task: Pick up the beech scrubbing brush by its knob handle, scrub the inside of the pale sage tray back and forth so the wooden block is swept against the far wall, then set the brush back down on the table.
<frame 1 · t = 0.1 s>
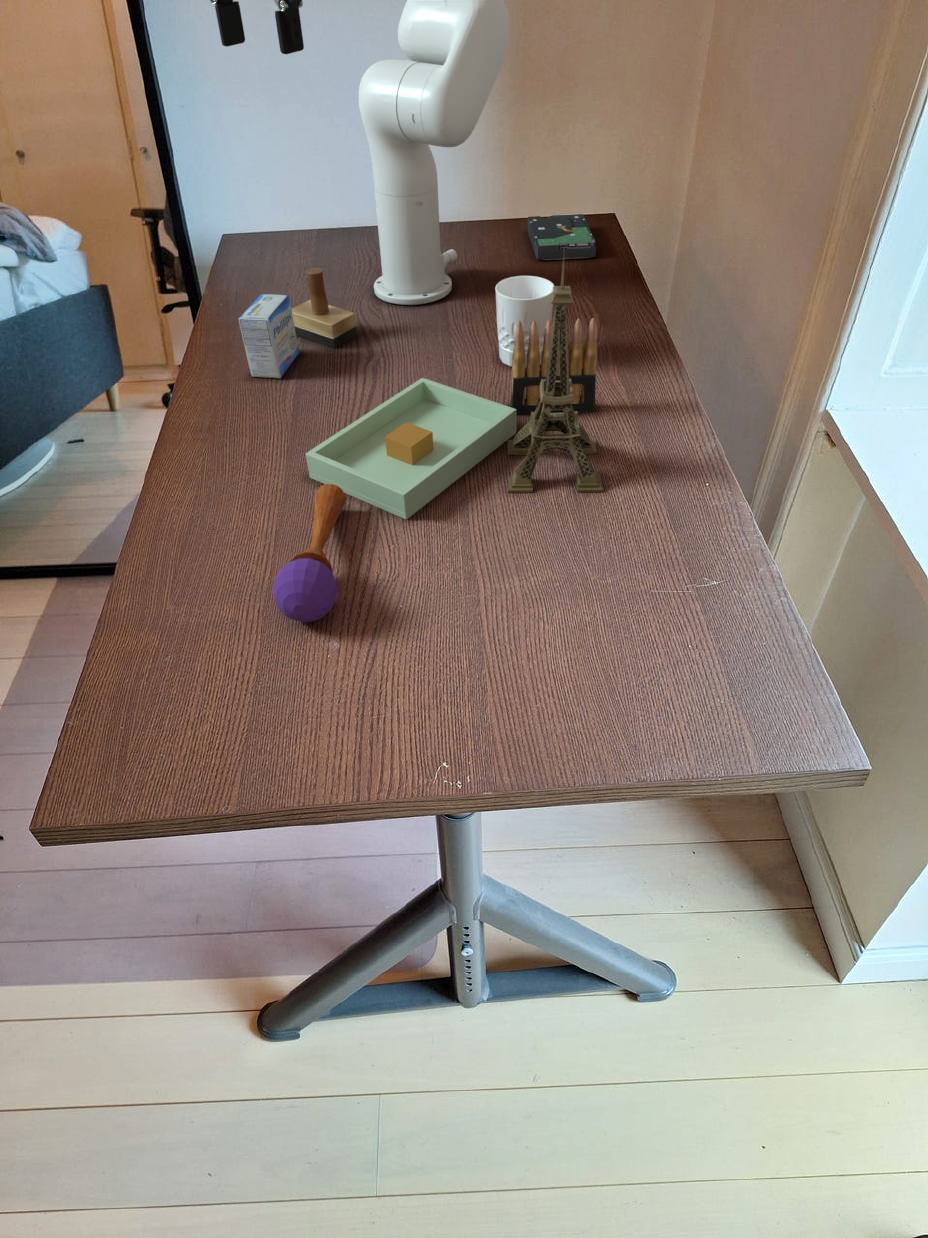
hand: (262, 47, 99), 37 cm above the table, tool pointing down, fingers open, 9 cm apart
ammunition clip: (552, 411, 109), on the table
brush: (324, 334, 127), on the table
eiffel tower: (552, 467, 100), on the table
white cup: (523, 358, 120), on the table
medicine box: (276, 366, 120), on the table
wooden block: (410, 452, 101), point 1 cm above the table, touching tray
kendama: (320, 568, 87), on the table
disk drive: (560, 245, 151), on the table
tray: (415, 454, 102), on the table
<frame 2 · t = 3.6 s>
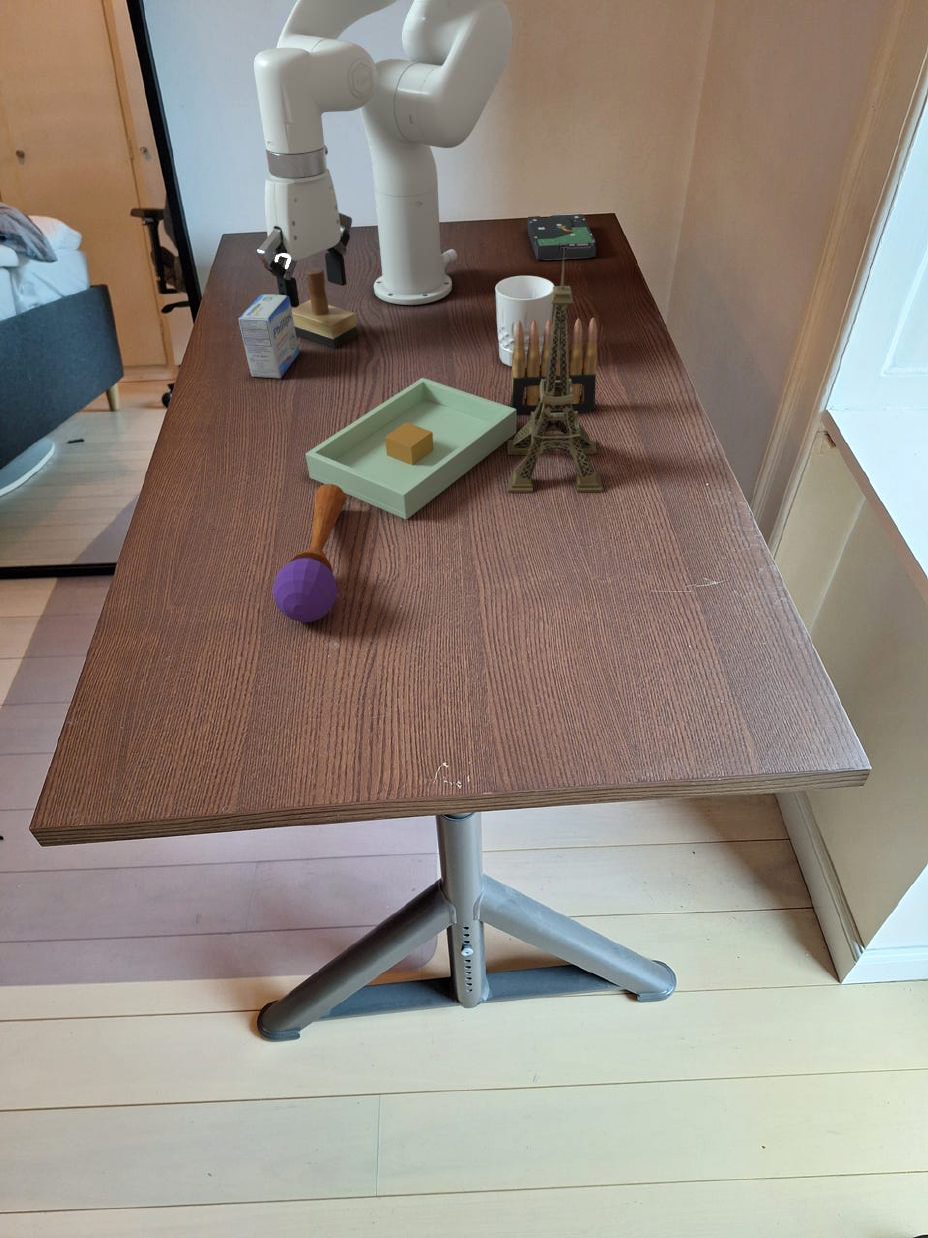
hand: (314, 293, 122), 6 cm above the table, tool pointing down, fingers open, 9 cm apart
medicine box: (276, 366, 120), on the table, touching gripper
everything else where it was.
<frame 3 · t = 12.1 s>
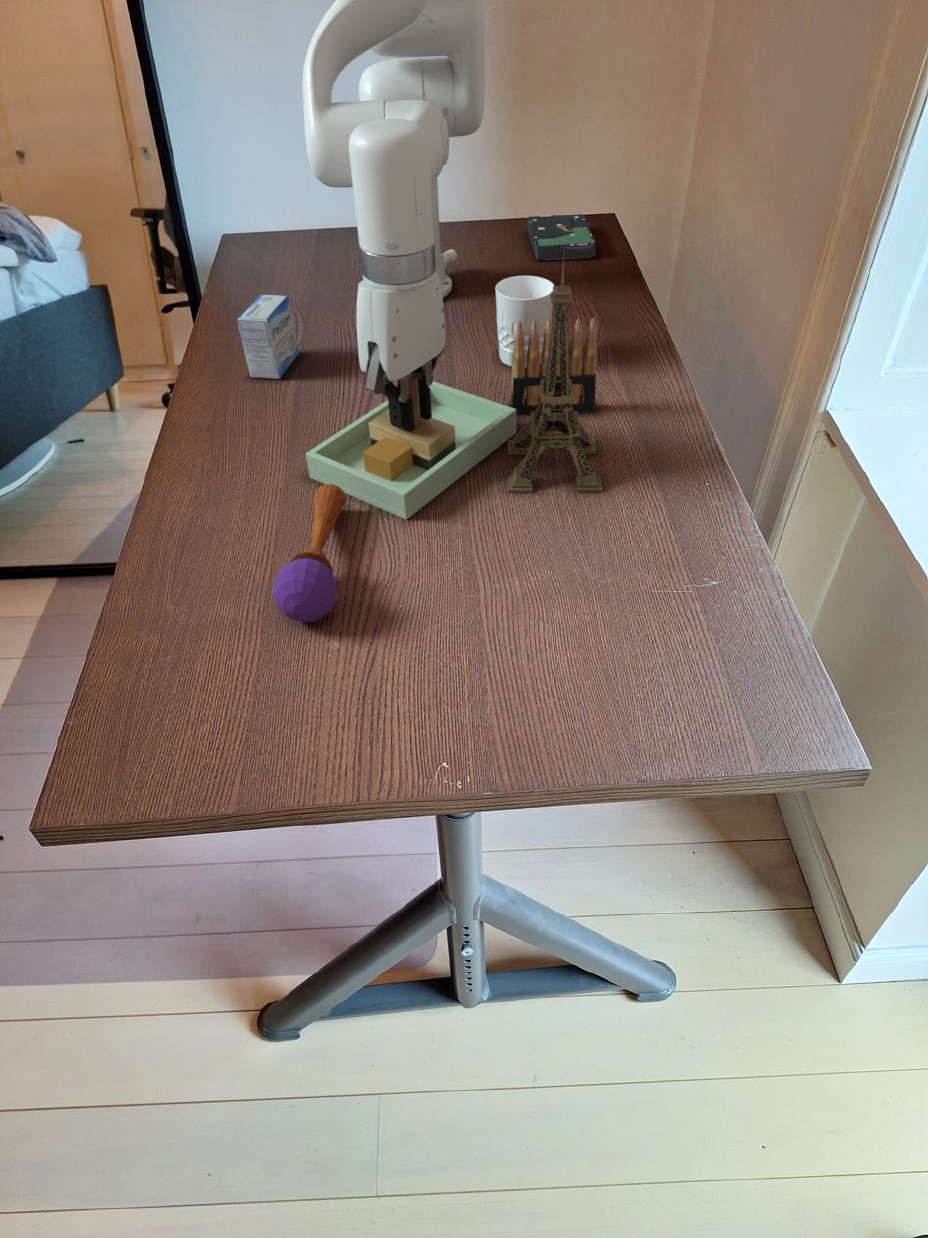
hand: (411, 420, 99), 5 cm above the table, tool pointing down, fingers closed on brush, 2 cm apart
brush: (413, 450, 101), point 1 cm above the table, touching gripper
medicine box: (275, 367, 120), on the table
wooden block: (389, 468, 99), point 1 cm above the table, touching tray
everything else where it was.
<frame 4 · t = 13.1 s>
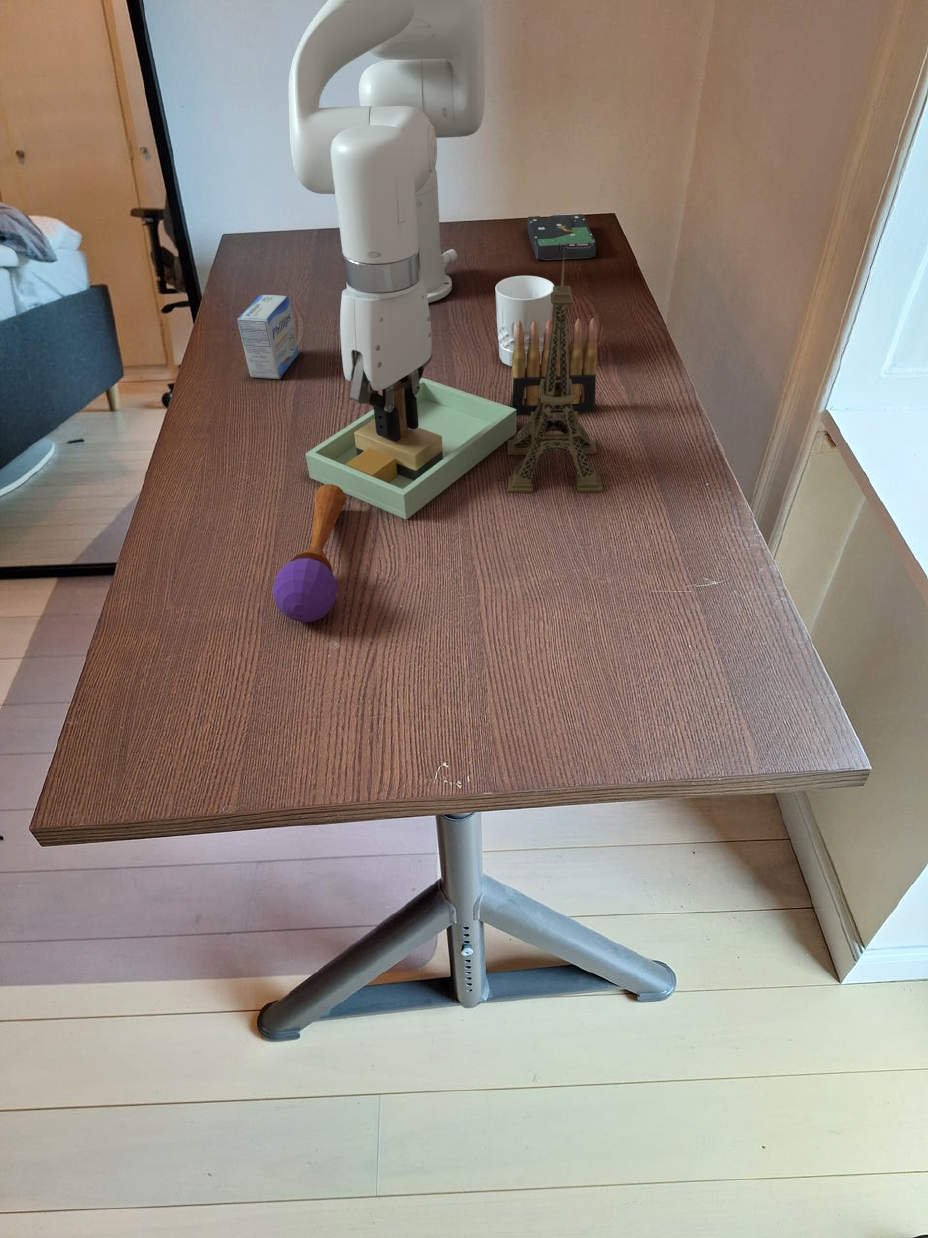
hand: (397, 430, 97), 5 cm above the table, tool pointing down, fingers closed on brush, 2 cm apart
brush: (400, 460, 100), point 1 cm above the table, touching gripper, tray
wooden block: (373, 479, 97), point 1 cm above the table, touching tray
everything else where it was.
when the fingers open (4 cm above the table, at t = 23.1 s): brush stays where it is, on the table.
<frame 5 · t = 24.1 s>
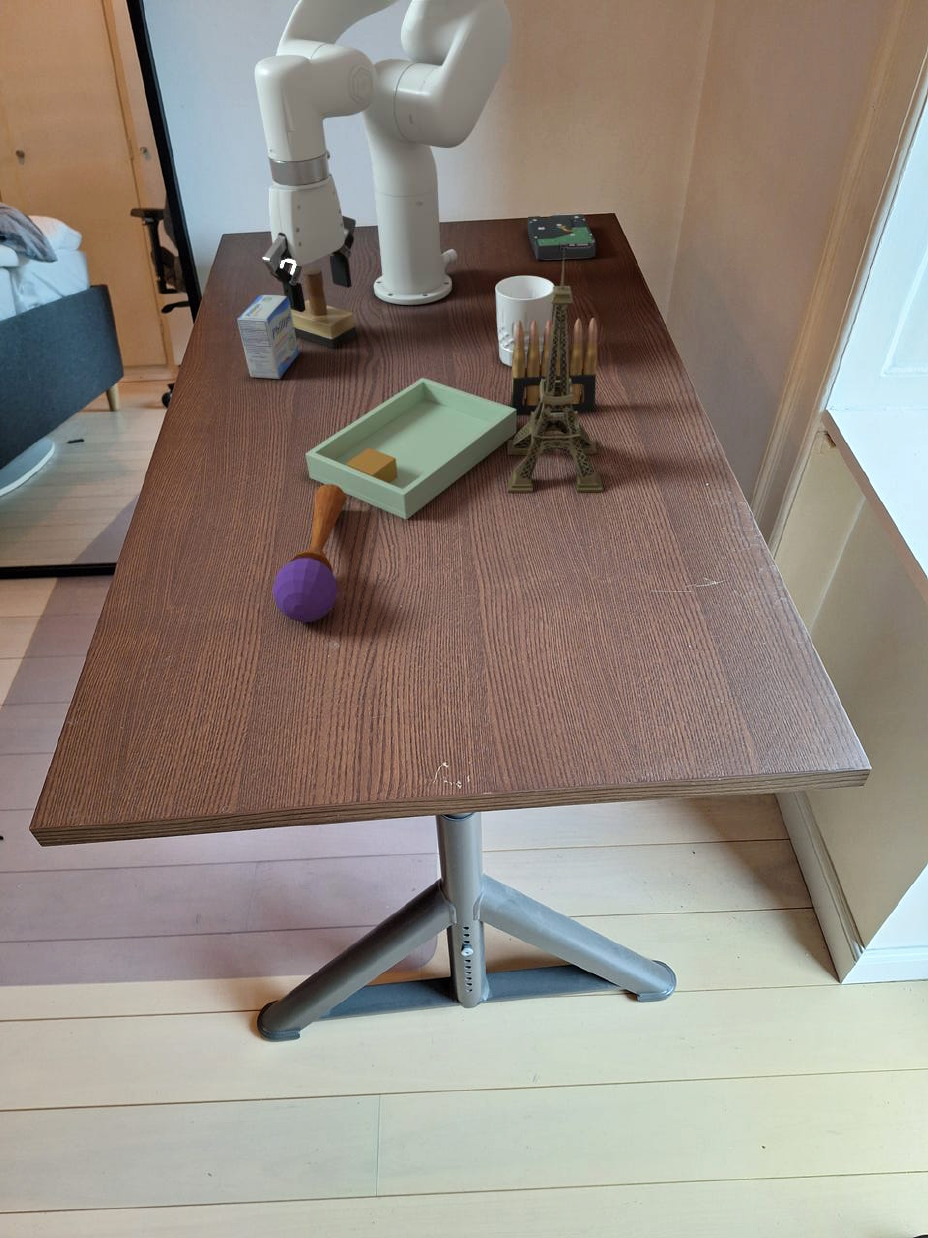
hand: (320, 297, 123), 6 cm above the table, tool pointing down, fingers open, 9 cm apart
brush: (322, 335, 127), on the table
everything else where it was.
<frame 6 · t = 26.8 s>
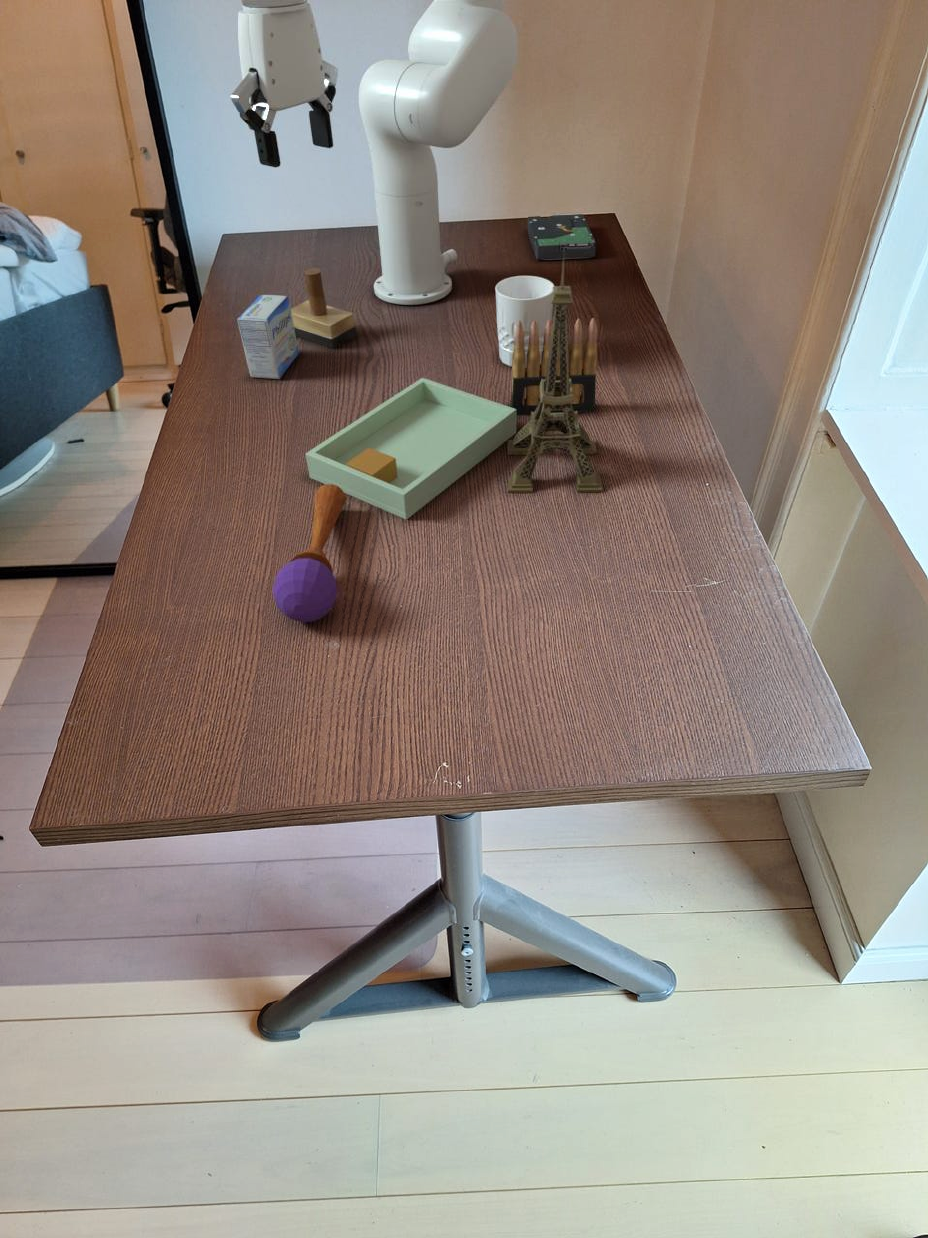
hand: (297, 155, 110), 24 cm above the table, tool pointing down, fingers open, 9 cm apart
nothing on the table moved.
at the end: wooden block inside the target area in the tray (1.3 cm from its centre), point 0.8 cm above the tray's base; brush inside the target area (0.3 cm from its centre), on the table; the gripper is holding nothing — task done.
